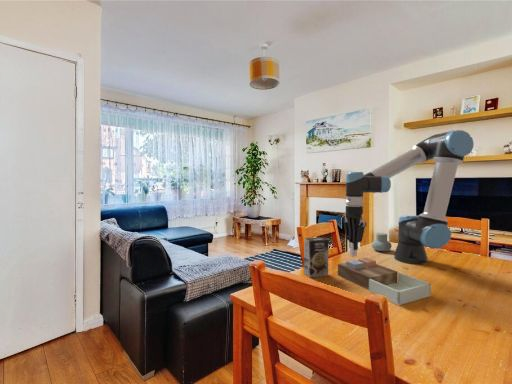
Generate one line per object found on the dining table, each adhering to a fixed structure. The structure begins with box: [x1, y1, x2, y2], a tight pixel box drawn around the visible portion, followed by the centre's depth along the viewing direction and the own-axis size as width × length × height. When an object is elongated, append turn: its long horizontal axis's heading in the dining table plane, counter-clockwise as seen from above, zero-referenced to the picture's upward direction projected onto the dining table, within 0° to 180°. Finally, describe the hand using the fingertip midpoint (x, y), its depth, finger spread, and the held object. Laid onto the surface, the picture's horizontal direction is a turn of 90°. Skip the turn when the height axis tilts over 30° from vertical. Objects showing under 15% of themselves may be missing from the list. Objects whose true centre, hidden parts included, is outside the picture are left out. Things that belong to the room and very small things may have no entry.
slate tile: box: [345, 259, 364, 269], centre depth 116 cm, size 5×5×2 cm
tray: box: [368, 272, 432, 306], centre depth 101 cm, size 17×13×5 cm
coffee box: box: [303, 236, 330, 278], centre depth 121 cm, size 9×6×16 cm
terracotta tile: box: [358, 257, 377, 267], centre depth 119 cm, size 5×5×2 cm
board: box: [337, 259, 399, 291], centre depth 115 cm, size 15×18×5 cm
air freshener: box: [371, 232, 392, 253], centre depth 159 cm, size 11×8×10 cm
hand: (353, 256), depth 127 cm, fingers closed
